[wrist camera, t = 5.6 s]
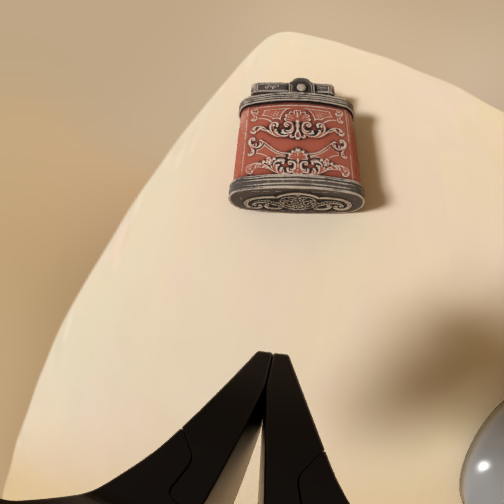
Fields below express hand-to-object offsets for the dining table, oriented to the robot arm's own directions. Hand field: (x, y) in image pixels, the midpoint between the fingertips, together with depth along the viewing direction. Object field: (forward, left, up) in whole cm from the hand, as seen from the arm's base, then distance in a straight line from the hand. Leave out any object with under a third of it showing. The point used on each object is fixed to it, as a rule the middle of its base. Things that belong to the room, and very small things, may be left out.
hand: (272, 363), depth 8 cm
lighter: (+8, +3, -8) cm, 12 cm away
